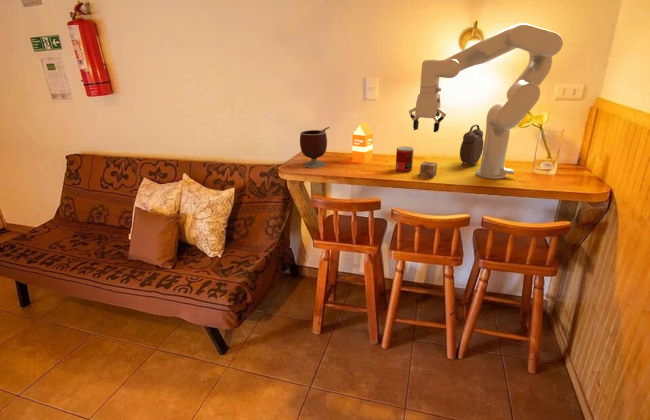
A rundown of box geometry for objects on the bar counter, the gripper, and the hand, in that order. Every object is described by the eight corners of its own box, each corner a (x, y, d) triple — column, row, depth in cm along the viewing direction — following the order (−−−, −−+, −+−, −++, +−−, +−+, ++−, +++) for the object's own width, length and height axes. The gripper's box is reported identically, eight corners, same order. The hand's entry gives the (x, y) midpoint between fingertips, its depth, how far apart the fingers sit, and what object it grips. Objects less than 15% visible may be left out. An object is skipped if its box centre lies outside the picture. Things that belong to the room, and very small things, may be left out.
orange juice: (352, 161, 190) (352, 123, 182) (360, 158, 196) (360, 121, 189) (364, 163, 185) (365, 125, 178) (372, 159, 192) (373, 122, 184)
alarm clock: (468, 160, 186) (473, 122, 178) (481, 163, 181) (487, 123, 173) (455, 166, 176) (460, 126, 169) (469, 169, 171) (475, 127, 164)
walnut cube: (436, 175, 164) (437, 162, 161) (432, 178, 159) (433, 166, 157) (423, 173, 167) (424, 161, 164) (419, 177, 162) (420, 164, 159)
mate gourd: (298, 168, 180) (296, 128, 172) (304, 161, 192) (302, 124, 184) (328, 169, 177) (327, 129, 169) (332, 162, 189) (331, 124, 182)
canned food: (407, 173, 167) (409, 150, 163) (392, 170, 172) (393, 148, 167) (414, 169, 173) (416, 147, 168) (399, 167, 177) (400, 145, 173)
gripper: (451, 90, 149) (447, 131, 156) (414, 89, 160) (412, 127, 166) (444, 92, 144) (440, 133, 151) (406, 90, 155) (404, 130, 161)
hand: (425, 130), depth 159 cm, fingers open, 9 cm apart
